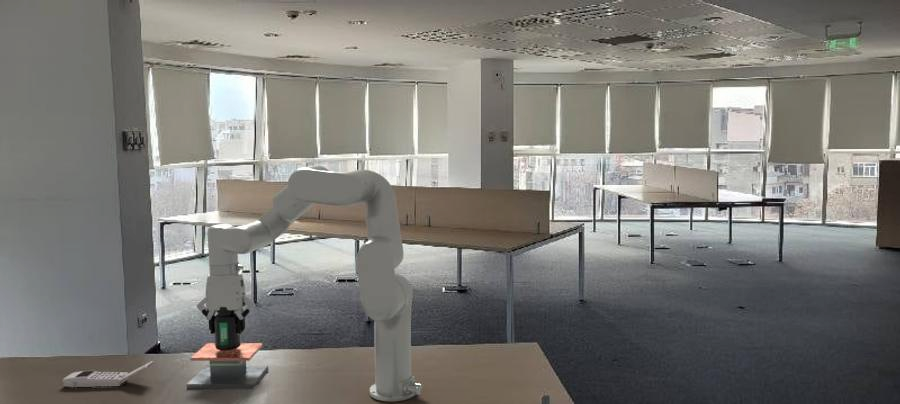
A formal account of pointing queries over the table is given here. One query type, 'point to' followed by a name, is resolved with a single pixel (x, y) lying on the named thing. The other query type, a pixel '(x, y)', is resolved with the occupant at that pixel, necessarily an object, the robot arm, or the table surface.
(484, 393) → the table surface
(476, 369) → the table surface
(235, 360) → the stand
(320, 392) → the table surface
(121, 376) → the mobile phone
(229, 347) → the supplement bottle
